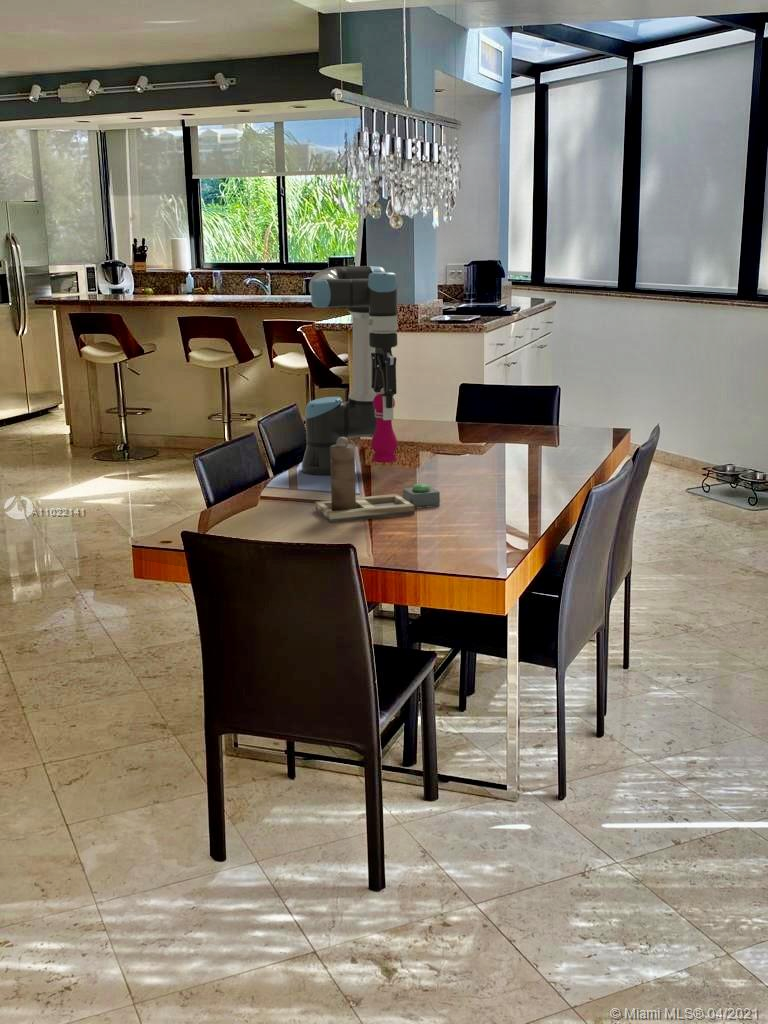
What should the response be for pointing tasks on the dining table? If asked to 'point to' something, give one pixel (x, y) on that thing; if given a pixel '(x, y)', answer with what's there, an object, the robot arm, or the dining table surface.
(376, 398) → the pepper mill
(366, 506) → the divided tray
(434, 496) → the button box
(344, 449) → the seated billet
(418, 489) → the button
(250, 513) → the dining table surface
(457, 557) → the dining table surface
